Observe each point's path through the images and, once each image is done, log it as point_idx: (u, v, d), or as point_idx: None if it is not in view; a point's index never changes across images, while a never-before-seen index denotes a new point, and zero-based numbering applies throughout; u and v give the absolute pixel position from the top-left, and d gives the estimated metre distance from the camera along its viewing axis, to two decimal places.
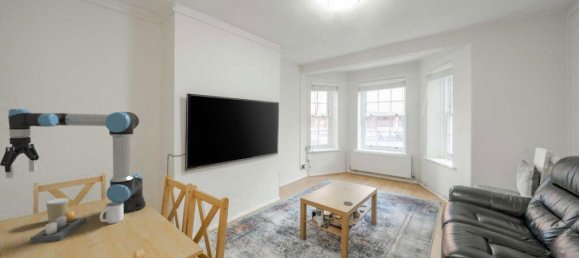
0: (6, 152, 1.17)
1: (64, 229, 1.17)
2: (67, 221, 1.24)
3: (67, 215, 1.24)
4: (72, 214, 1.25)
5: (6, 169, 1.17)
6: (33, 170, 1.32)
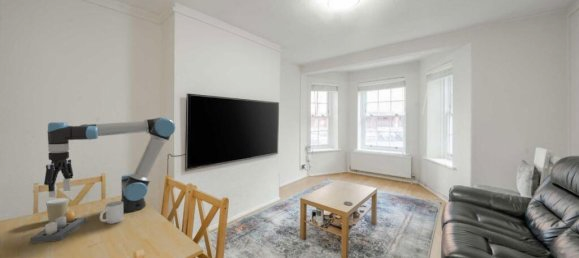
0: (47, 170, 1.11)
1: (64, 229, 1.17)
2: (67, 221, 1.24)
3: (67, 215, 1.24)
4: (72, 214, 1.25)
5: (50, 188, 1.12)
6: (68, 189, 1.23)
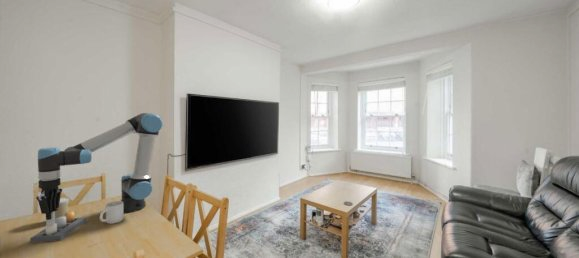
0: (40, 202, 1.07)
1: (64, 229, 1.17)
2: (67, 221, 1.24)
3: (67, 215, 1.24)
4: (72, 214, 1.25)
5: (47, 216, 1.11)
6: None
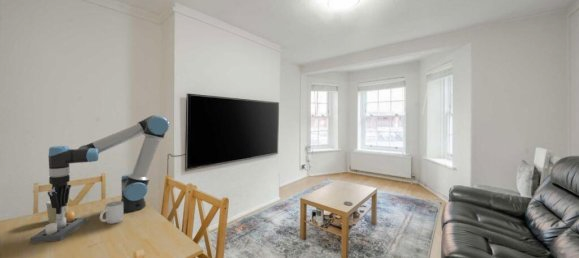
0: (50, 197, 1.14)
1: (64, 229, 1.17)
2: (67, 221, 1.24)
3: (67, 215, 1.24)
4: (72, 214, 1.25)
5: (57, 211, 1.17)
6: None
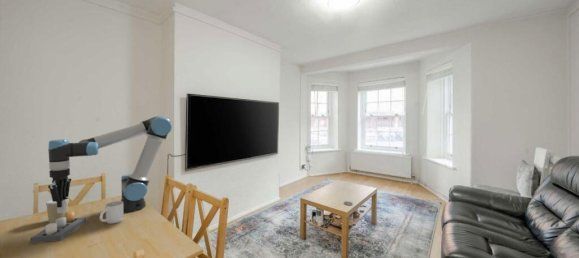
0: (51, 190, 1.14)
1: (64, 229, 1.17)
2: (67, 221, 1.24)
3: (67, 215, 1.24)
4: (72, 214, 1.25)
5: (58, 204, 1.17)
6: None
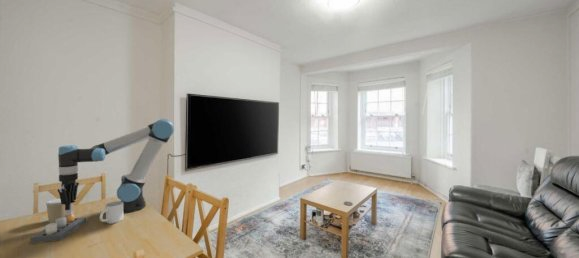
0: (60, 193, 1.20)
1: (64, 229, 1.17)
2: None
3: (67, 217, 1.24)
4: (72, 216, 1.26)
5: (66, 207, 1.24)
6: None
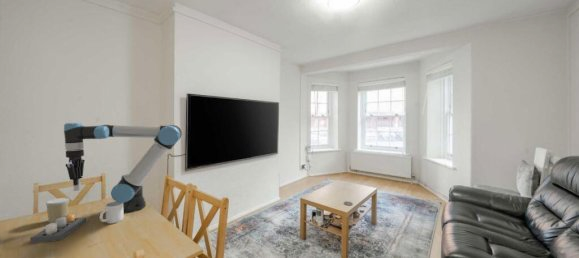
0: (68, 168, 1.24)
1: (64, 229, 1.17)
2: None
3: (67, 218, 1.24)
4: (72, 217, 1.26)
5: (74, 182, 1.28)
6: None
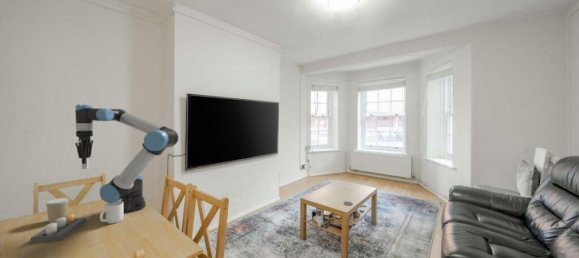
0: (77, 147, 1.31)
1: (64, 229, 1.17)
2: None
3: (67, 218, 1.24)
4: (72, 217, 1.26)
5: (83, 161, 1.35)
6: None
